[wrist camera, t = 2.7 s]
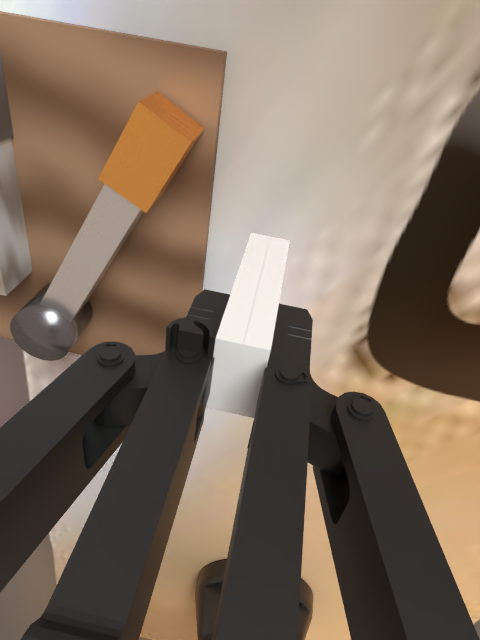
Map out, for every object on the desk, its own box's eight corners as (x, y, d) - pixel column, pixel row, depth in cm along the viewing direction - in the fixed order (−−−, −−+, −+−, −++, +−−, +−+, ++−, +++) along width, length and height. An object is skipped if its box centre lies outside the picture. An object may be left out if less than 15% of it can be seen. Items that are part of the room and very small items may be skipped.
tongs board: (194, 371, 39) (180, 409, 35) (-6, 328, 40) (-39, 361, 36) (226, 51, 25) (209, 60, 21) (-85, -4, 26) (-152, -4, 22)
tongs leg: (79, 337, 37) (56, 369, 34) (31, 307, 36) (2, 338, 33) (213, 134, 26) (197, 153, 23) (149, 83, 25) (123, 96, 22)
